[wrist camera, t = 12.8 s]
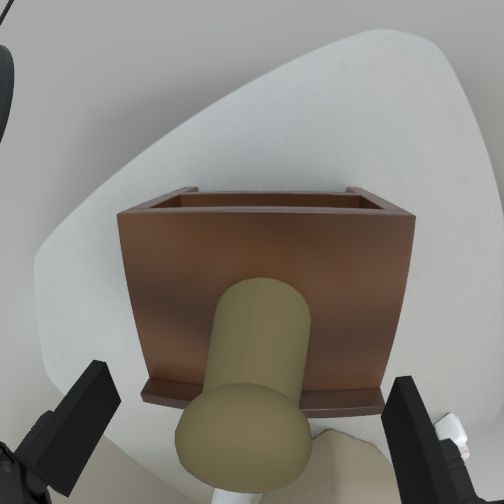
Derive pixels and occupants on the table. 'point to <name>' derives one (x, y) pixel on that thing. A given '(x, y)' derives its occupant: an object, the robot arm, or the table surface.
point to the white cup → (231, 497)
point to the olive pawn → (251, 393)
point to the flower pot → (341, 475)
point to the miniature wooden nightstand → (275, 267)
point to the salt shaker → (453, 433)
